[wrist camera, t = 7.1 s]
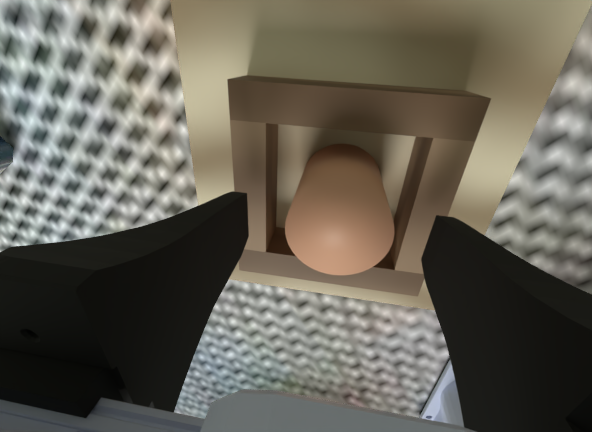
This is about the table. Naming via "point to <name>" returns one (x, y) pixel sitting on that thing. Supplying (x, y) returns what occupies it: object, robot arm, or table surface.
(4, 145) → the grey long angled cylinder
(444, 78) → the socket board
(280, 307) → the table surface
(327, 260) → the peg
